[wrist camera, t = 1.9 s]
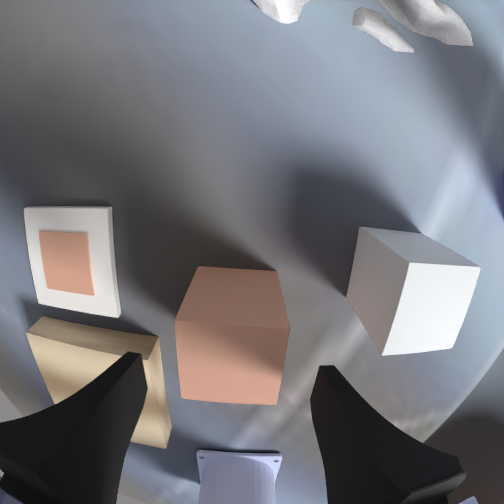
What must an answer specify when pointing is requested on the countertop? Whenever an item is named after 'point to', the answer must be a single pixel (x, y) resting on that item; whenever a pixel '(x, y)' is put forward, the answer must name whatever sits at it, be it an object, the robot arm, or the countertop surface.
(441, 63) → the countertop surface
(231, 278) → the terracotta block
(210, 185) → the countertop surface
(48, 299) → the tile
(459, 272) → the white block
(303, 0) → the cloth
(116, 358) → the oak base block
